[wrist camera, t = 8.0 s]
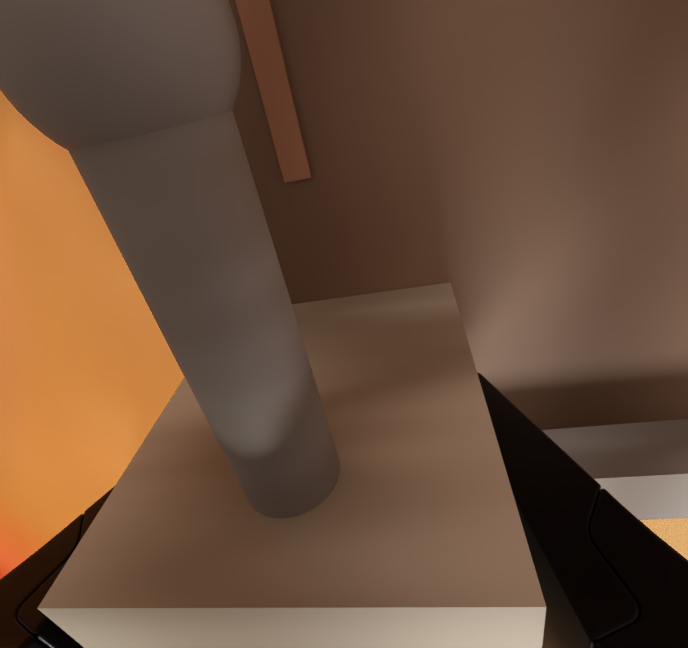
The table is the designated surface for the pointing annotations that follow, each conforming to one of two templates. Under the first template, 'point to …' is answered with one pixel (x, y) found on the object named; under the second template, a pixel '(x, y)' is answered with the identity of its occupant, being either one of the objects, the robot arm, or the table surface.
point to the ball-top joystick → (262, 384)
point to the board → (497, 196)
